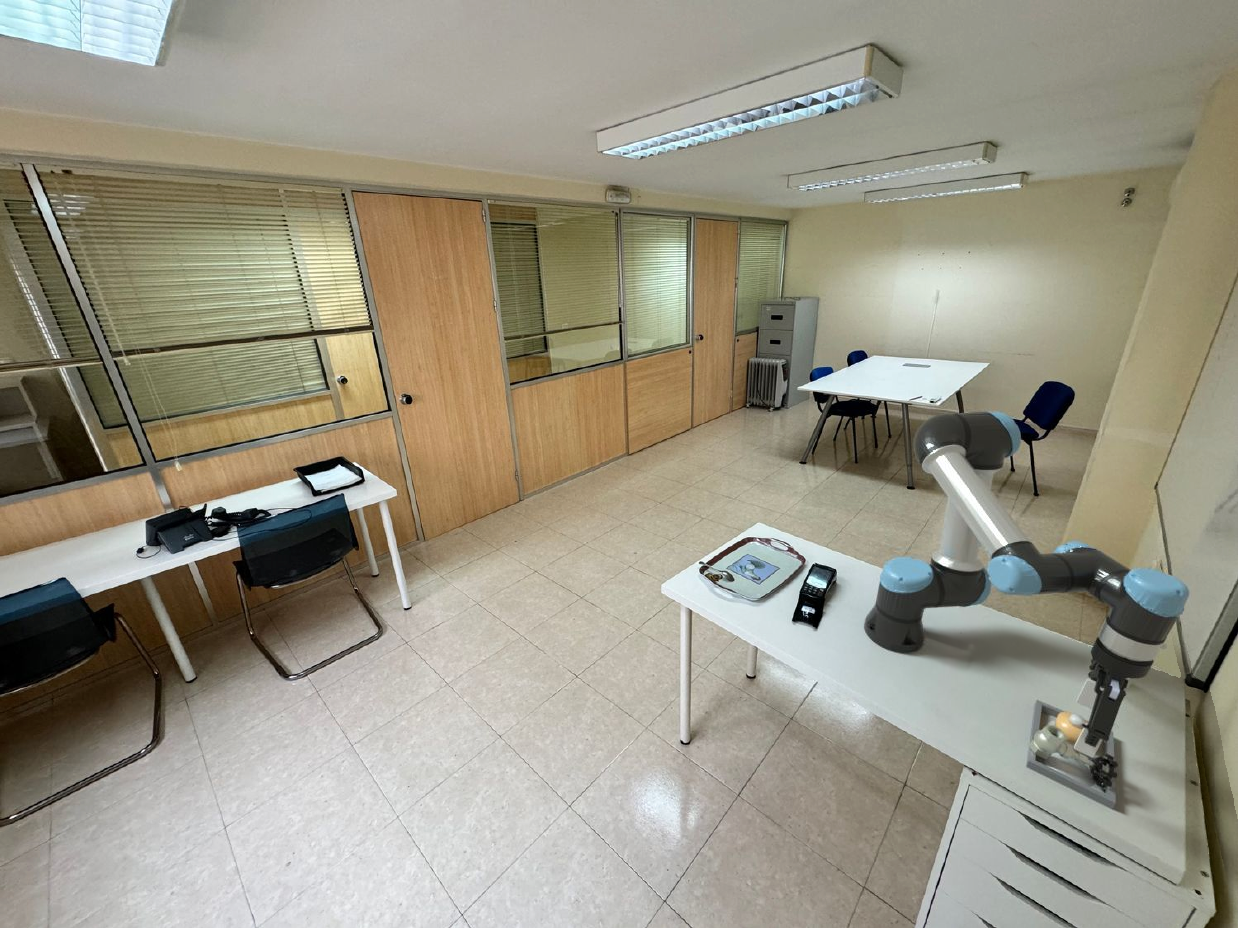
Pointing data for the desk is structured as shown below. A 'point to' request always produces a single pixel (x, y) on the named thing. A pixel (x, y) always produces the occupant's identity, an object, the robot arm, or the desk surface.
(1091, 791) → the grey divided tray
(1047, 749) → the valve
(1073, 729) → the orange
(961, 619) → the desk surface
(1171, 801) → the desk surface
